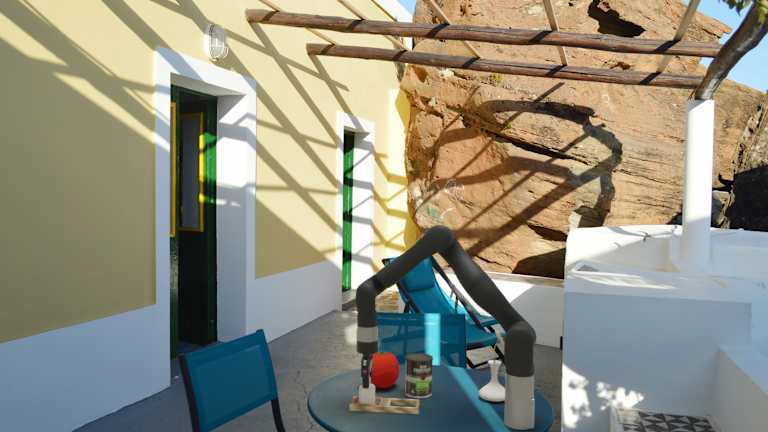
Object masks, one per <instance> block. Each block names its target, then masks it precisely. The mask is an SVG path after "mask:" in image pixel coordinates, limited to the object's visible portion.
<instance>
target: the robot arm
mask: <svg viewBox="0 0 768 432" xmlns="http://www.w3.org/2000/svg"><path fill="white" fill-rule="evenodd" d="M436 254H438V255H439V256H440V257H441V258H442V259H443V260H444V261H445V262H446V263H447V264H448V265H449V267H450V268H451V270H452V271H453V273H454V275H455V277H456V279H457V280H458V282H459V284H460V285H461V287H462V288H463V290H464V291H465V292H466V294H467V295H468V296H469V298H470V299H471V300H472V301H473V302H474V303H475V304H476V305H477V306H478V307H479V308H480V309H481V310H483V311H484V312H485V313H487V314H488V315H490V316H491V317H492V318H493V319H494V320H495V321H496V322H497V323H498V324H499V325H500V327H501V328H502V329H503V331H504V333H505V336H504V340H503V341H504V347H503V348H504V349H503V350H504V351H503V352H504V353H503V356H504V357H503V358H504V360H503V361H504V366H505V372H504V373H505V375H504V381H505V382H504V388H505V400H504V415H503V416H504V417H503V419H504V420H503V422H504V425H505V426H506V427H508V428H510V429H513V430H521V431H522V430H529V429H535V406H536V404H535V403H536V401H535V397H534V396H535V394H534V393H535V392H534V391H535V365H534V345H535V344H536V342H537V333H536V330H535V329H534V327H533V326H532V324H530V323H529V322H528V321H527V320H526V319H525V318H524V317H523V316H522V315H521V314H520V313H519V312H518V311H517V310H516V309H515V308H514V307H513V306H512V304H511V303H510V301H509V300H508V299H507V297H506V296H505V295H504V293H502V291H501V290H500V289H499V287H498V286H497V285H496V284H495V283H496V282H494V280H493V279H492V278H491V277H490V276H489V275H488V274H487V272H486V271H485V270H484V269H483V268H482V267H481V266H480V265H479V264H478V263H477V262H476V261H475V260H474V259H473V258H472V257H471V256H470V255H469V254H468V253H467V251H466V250H465V249H464V248H463V246H462V244H461V243H460V242H459V240H458V239H457V237H456V236H455V233H454V232H453V231H452V229H451V228H449V227H447V226H445V225H442V224H436V225H433V226H431V227H430V228H429V229H428V230H427V231H426V232H425V234H423V236H421V237H420V239H418V240H417V241H416V242H415V243H414V244H413V245H412V246H410V248H408V249H407V250H406V251H404V252H403V253H402V254H400V255H399V256H397V257H396V258H395V259H393V260H392V261H389V263H388V264H386V265H385V266H384V267H382V268H380V270H379V271H378V272H376V273H375V274H372V276H370V277H369V278H366V280H364V281H363V282H362V283H360V284H359V285H358V286H357V288H356V291H355V305H356V311H357V317H356V318H357V320H356V323H357V327H356V352H357V353H359V354H362V356H361V358H360V363H361V364H360V373H361V374H360V378H362V379H361V380H362V384H363V388H369V377H371V380H372V370H371V369H373V359H374V357H373V354H375V353H377V352H379V329H378V312H377V309H376V308H377V307H376V298H377V297H378V296H379V295H381V294H382V293H383V292H384V291H386V290H387V289H389V288H391V287H393V286H394V285H396V284H397V283H398V282H400V281H401V280H402V279H404V278H405V277H406V276H408V275H409V274H410V273H411V272H412V271H414V269H415V268H416V267H417V266H419V265H420V264H421V263H422V262H424V261H426V260H427V259H428V258H431V257H433V256H434V255H436ZM364 371H366V374H364Z"/></svg>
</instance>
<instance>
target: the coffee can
mask: <svg viewBox="0 0 768 432" xmlns="http://www.w3.org/2000/svg"><path fill="white" fill-rule="evenodd" d="M404 358H405V380H404V381H405V382H404V395H405V396H407V397H408V398H412V399H427V398H430V397H432V395H433V361H434V360H433V359H434V357H433V355H431V354H428V353H421V352H415V353H409V354H406V355H405V357H404Z"/></svg>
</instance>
